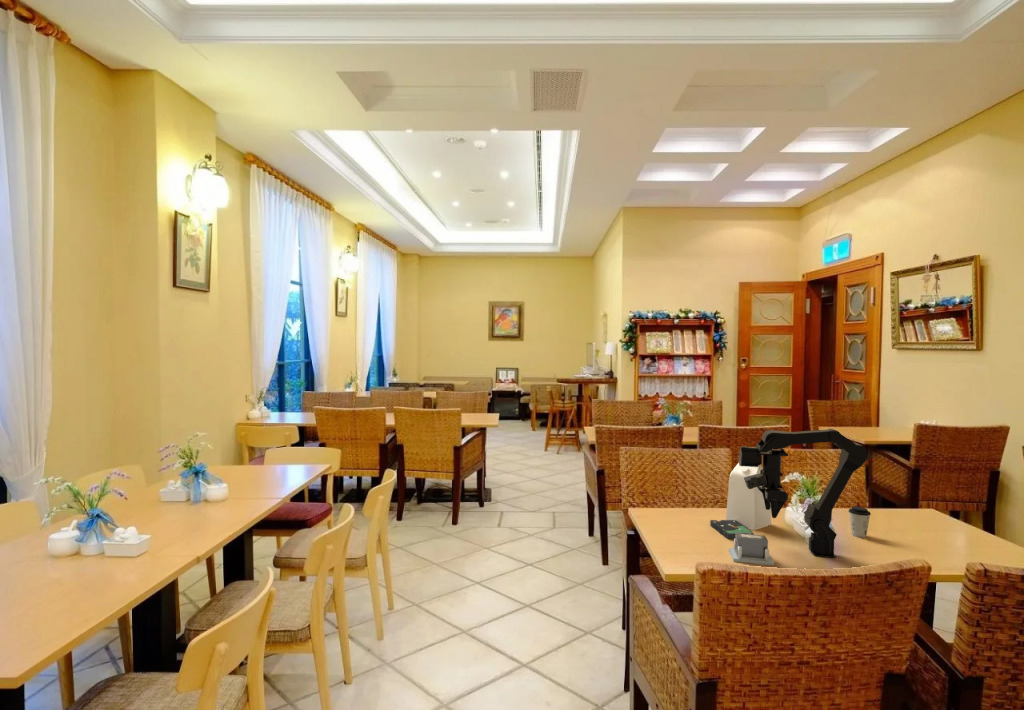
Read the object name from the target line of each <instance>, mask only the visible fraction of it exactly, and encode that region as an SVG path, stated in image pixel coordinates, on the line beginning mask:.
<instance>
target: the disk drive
mask: <svg viewBox="0 0 1024 710" xmlns="http://www.w3.org/2000/svg"><path fill="white" fill-rule="evenodd" d="M709 523H710V524H709V525H710V527H711V528H713V529H714V530H715V531H716V532H718V533H719V534H720V535H721V536H723V537H724V538H725V539H726V540H734V539H735V533H741V534H753V535H756V534H755V533H754V530H752V529H749V528H747V527H745V526H744V525H742V524H741V523H739V522H738V521H736V520H726V519H721V520H717V519H710V520H709Z"/></svg>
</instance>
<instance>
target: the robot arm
mask: <svg viewBox="0 0 1024 710" xmlns="http://www.w3.org/2000/svg"><path fill="white" fill-rule="evenodd" d="M819 443H820V444H821V443H831V444H834V445H835V446H836V447H837V448H838V449H839V450H840V453H839V456H838V457H839V458H838V459H839V461H838V465H837V467H836V469H835V471H834V473H833V474H832V477H831V478H830V480H829V482H828V483H827V485H826V487H825V488H824V491H823V492H822V494H821V496H820V498H819V499H818V501H816V502H815V504H812V503H808V505H807V507H806V509H805V510H804V511H803V514H804V516H803V520H804V523H805V524H806V525H807V526H808V528H810V531H812V532H810V536H809V537H808V550H809V551H810V552H811V553H812V555H813V556H815V557H824V558H825V557H827V558H834V559H835V558H836V557H837V556H836V555H835V540H836V538H837V533H836V532H835V531H834V530H833V529H832V528H831V527H830V524H831V522H832V516H833V515H832V514H833V509H834V508H835V506H836V504H837V502H838V501H839V498H840V497H841V495H842V493H843V492H844V490H845V488H846V487H847V484H848V482H849V481H850V478H851V477H852V476H853V473H854V472H855V471H857V470H858V469H860V468H861V467H862V466H863V465H864V464H865V463H866V462H867V460H868V459H869V456H870V453H869V451H868V449H867V448H866V447H865V446H863V445H862V444H859V443H857V442H854V441H852V440H850V439H849V438H848V437H846V436H844V435H843V434H842V433H841V432H839V430H837V429H834V428H828V429H827V428H826V429H819V430H818V429H816V430H805V431H804V430H802V431H801V430H800V431H783V430H777V429H776V430H775V429H769V430H768V429H767V430H765V431H764V432H763V433H762V435H761V439H760V440H759V441H758V443H756V445H755V446H754V447H753V446H745V445H741V446H740V448H739V452H738V459H737V460H738V463H739V465H740V466H747V467H758V465H760V466H761V465H762V469H761V470H760V474H755V475H751V476H747V477H744V480H745V483H746V486H747V487H748V489H753V488H755V487H757V488H758V489H759V490H760V491H761V492H762V494H763V499H764V503H765V508H766V510H770V508H771V519H776V518H777V516H778V515H779V513H780V512H781V510H782V508H783V506H784V505H785V503H786V502H787V501H789V494H788V493H787V492H786V491H785V490H784V489H783V484H782V477H783V474H784V473H783V472H782V457H788V456H789V453H787V452H786V451H785V448H788V447H790V446H794V445H803V444H805V445H806V444H819Z"/></svg>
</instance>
